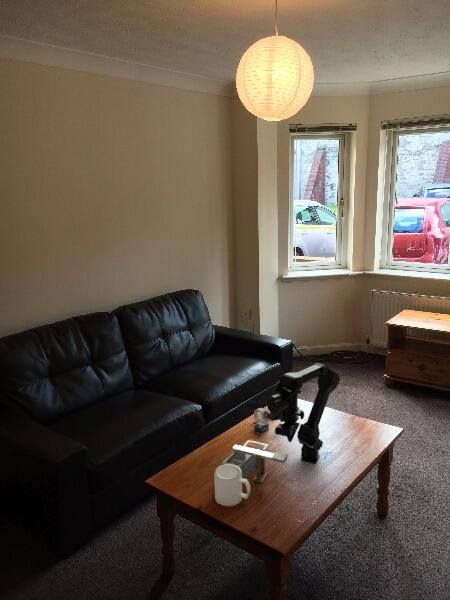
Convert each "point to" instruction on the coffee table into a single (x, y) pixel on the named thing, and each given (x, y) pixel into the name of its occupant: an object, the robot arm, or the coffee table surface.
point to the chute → (242, 464)
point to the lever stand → (260, 469)
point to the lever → (242, 451)
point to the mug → (229, 485)
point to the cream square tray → (257, 445)
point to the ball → (251, 446)
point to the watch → (261, 426)
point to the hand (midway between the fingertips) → (290, 441)
